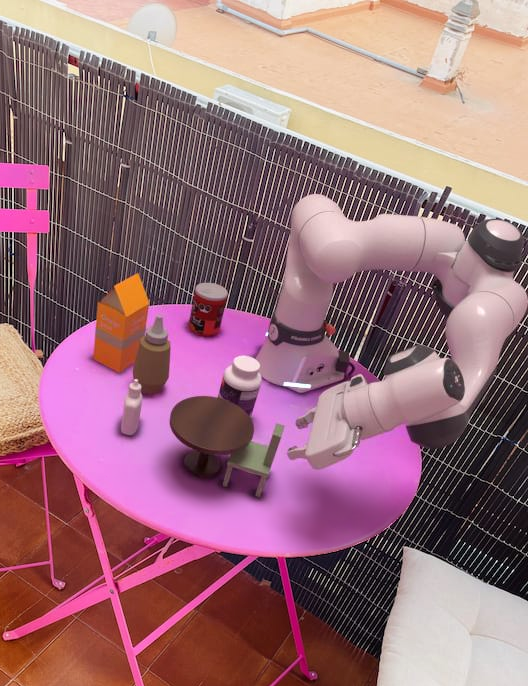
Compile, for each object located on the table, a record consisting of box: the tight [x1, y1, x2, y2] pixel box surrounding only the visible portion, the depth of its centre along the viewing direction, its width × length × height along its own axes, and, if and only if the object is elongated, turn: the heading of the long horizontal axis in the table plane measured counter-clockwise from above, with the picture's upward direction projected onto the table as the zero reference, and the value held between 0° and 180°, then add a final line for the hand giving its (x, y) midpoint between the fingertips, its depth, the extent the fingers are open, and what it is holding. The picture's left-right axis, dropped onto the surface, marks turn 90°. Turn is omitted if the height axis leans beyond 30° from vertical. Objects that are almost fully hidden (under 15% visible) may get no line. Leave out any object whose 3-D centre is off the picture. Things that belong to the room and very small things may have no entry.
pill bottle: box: [217, 355, 263, 419], centre depth 143 cm, size 8×8×14 cm
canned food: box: [188, 282, 228, 338], centre depth 169 cm, size 8×8×11 cm
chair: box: [222, 423, 285, 498], centre depth 130 cm, size 8×8×14 cm
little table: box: [169, 395, 255, 478], centre depth 132 cm, size 16×16×11 cm
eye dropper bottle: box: [120, 379, 143, 436], centre depth 137 cm, size 4×6×12 cm
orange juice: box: [92, 272, 150, 373], centre depth 151 cm, size 8×9×20 cm
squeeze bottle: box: [132, 314, 172, 396], centre depth 146 cm, size 8×8×18 cm
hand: (293, 439), depth 125 cm, fingers open, 8 cm apart
